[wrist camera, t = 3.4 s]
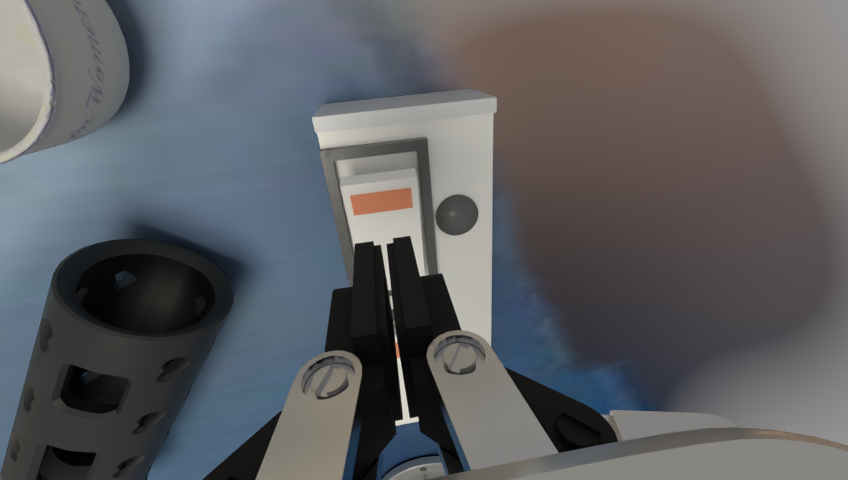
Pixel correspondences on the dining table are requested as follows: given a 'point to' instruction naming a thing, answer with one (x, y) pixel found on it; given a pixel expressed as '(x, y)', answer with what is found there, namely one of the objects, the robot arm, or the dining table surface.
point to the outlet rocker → (384, 210)
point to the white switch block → (425, 181)
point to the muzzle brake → (114, 360)
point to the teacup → (58, 72)
